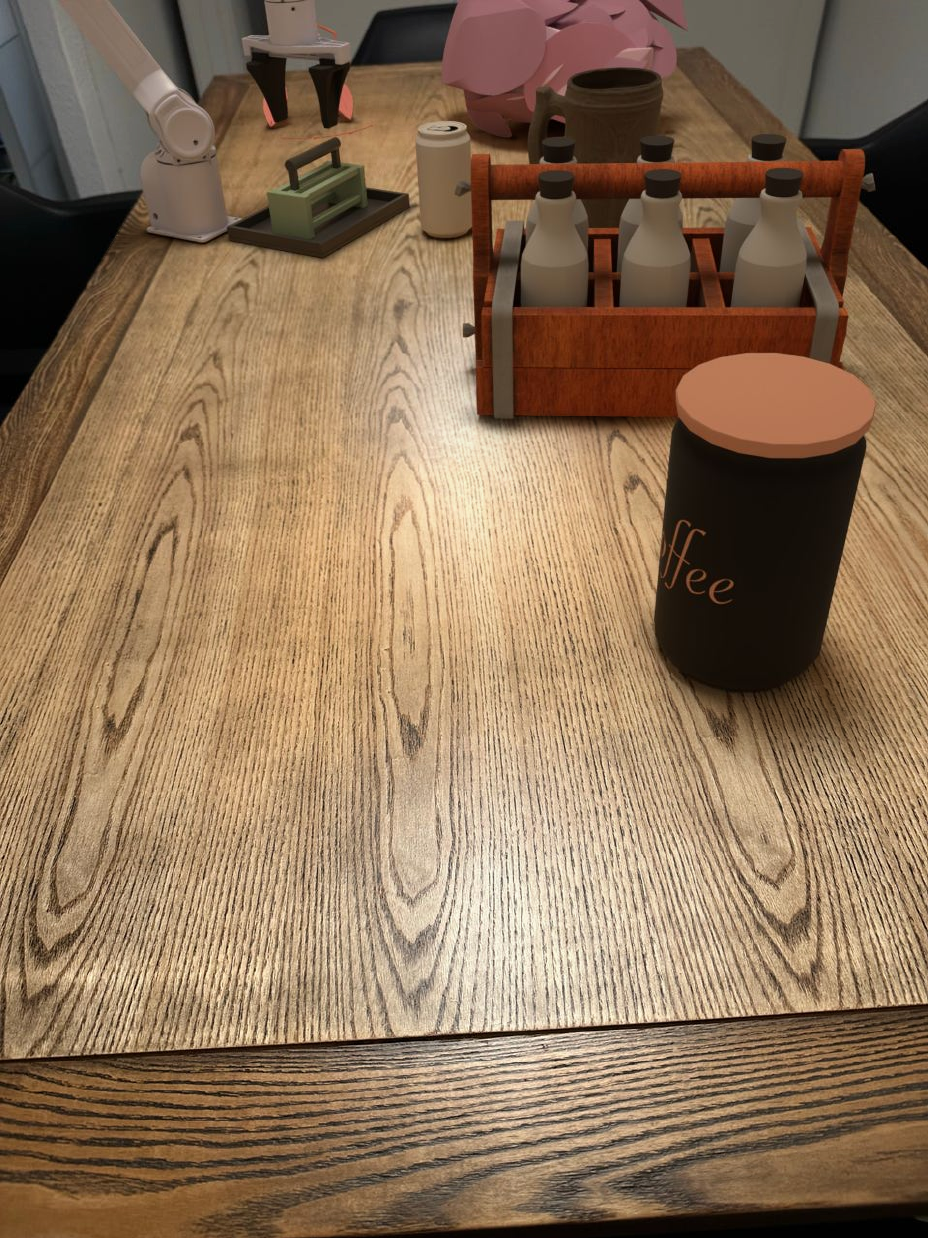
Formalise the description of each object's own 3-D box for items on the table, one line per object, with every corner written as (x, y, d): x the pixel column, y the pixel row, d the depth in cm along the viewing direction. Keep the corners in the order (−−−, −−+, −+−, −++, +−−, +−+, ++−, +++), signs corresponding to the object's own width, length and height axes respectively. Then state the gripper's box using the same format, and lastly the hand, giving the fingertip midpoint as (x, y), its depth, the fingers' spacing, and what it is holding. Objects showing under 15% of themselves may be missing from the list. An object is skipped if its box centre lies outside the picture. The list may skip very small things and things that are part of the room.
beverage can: (467, 241, 128) (464, 134, 120) (415, 239, 129) (408, 133, 121) (478, 222, 133) (475, 119, 125) (427, 220, 134) (421, 118, 126)
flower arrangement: (653, 139, 173) (678, -68, 160) (693, 151, 153) (724, -86, 140) (437, 129, 170) (444, -83, 157) (448, 139, 149) (456, -104, 136)
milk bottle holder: (471, 321, 110) (464, 120, 98) (820, 322, 107) (858, 114, 95) (451, 422, 94) (440, 197, 82) (862, 427, 91) (914, 193, 79)
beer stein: (673, 256, 122) (677, 61, 109) (645, 292, 114) (645, 87, 102) (547, 249, 128) (537, 64, 115) (512, 283, 120) (497, 88, 108)
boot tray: (228, 240, 131) (226, 226, 130) (320, 192, 144) (318, 179, 143) (323, 258, 126) (321, 243, 124) (409, 206, 138) (408, 193, 137)
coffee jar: (636, 600, 74) (656, 358, 62) (789, 587, 74) (835, 345, 63) (673, 707, 66) (703, 451, 54) (844, 692, 66) (909, 435, 55)
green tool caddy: (272, 233, 131) (261, 160, 126) (331, 200, 140) (323, 131, 134) (310, 239, 129) (300, 166, 124) (368, 205, 138) (361, 135, 132)
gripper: (360, -6, 123) (372, 119, 132) (260, -12, 129) (278, 109, 138) (324, 6, 119) (339, 135, 128) (223, -1, 125) (244, 124, 133)
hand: (305, 123), depth 132 cm, fingers open, 7 cm apart
